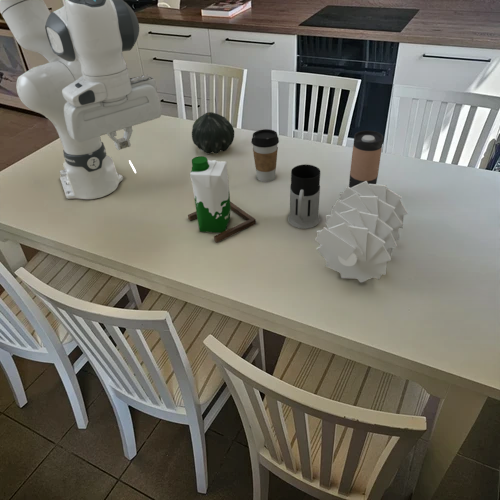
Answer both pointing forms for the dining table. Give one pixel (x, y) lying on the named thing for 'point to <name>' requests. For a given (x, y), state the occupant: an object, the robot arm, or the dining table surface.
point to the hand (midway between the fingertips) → (123, 147)
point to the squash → (212, 133)
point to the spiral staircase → (362, 231)
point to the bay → (235, 229)
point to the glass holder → (304, 196)
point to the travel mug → (365, 157)
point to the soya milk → (211, 194)
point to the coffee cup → (265, 153)
